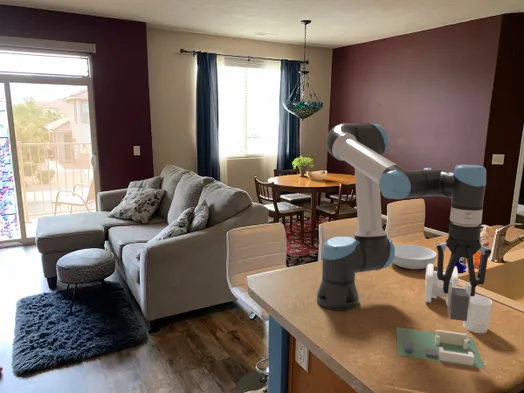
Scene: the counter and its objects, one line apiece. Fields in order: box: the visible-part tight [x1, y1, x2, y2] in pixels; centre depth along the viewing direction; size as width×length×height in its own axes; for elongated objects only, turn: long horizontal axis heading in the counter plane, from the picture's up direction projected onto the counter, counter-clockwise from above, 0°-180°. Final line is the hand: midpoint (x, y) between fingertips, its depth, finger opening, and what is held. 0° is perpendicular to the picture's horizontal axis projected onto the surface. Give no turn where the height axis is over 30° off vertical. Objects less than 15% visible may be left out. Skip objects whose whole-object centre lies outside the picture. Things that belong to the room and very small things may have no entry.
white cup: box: [462, 293, 493, 334], centre depth 125 cm, size 8×8×10 cm
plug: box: [446, 286, 469, 322], centre depth 109 cm, size 4×6×7 cm, turn 163°
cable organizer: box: [424, 263, 459, 303], centre depth 146 cm, size 15×11×12 cm
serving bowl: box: [392, 244, 438, 270], centre depth 180 cm, size 21×21×7 cm
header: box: [434, 329, 474, 365], centre depth 112 cm, size 8×11×4 cm
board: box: [395, 326, 486, 370], centre depth 115 cm, size 22×16×3 cm
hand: (457, 305), depth 109 cm, fingers closed on plug, 4 cm apart
